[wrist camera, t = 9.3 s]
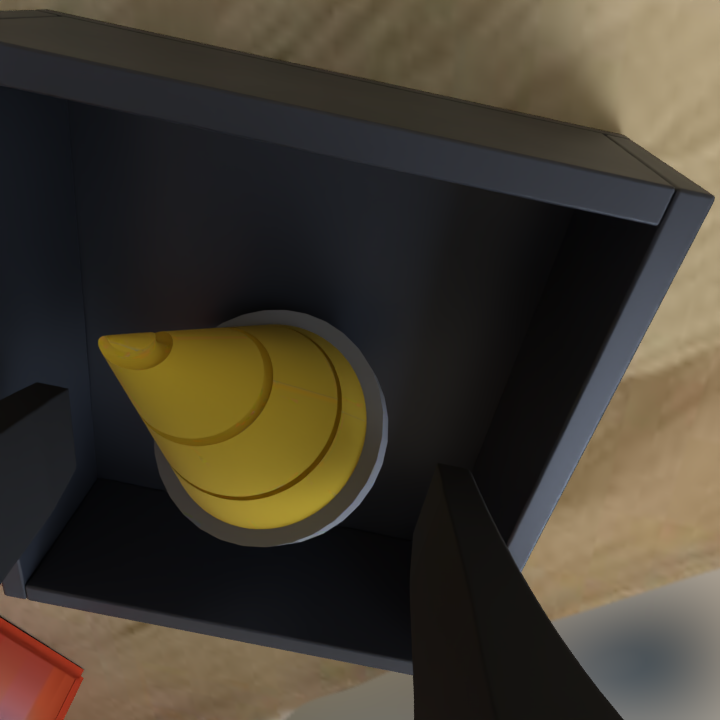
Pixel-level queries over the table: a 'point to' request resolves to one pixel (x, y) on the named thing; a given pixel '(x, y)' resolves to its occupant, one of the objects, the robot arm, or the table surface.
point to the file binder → (34, 678)
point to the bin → (310, 305)
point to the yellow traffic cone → (257, 422)
